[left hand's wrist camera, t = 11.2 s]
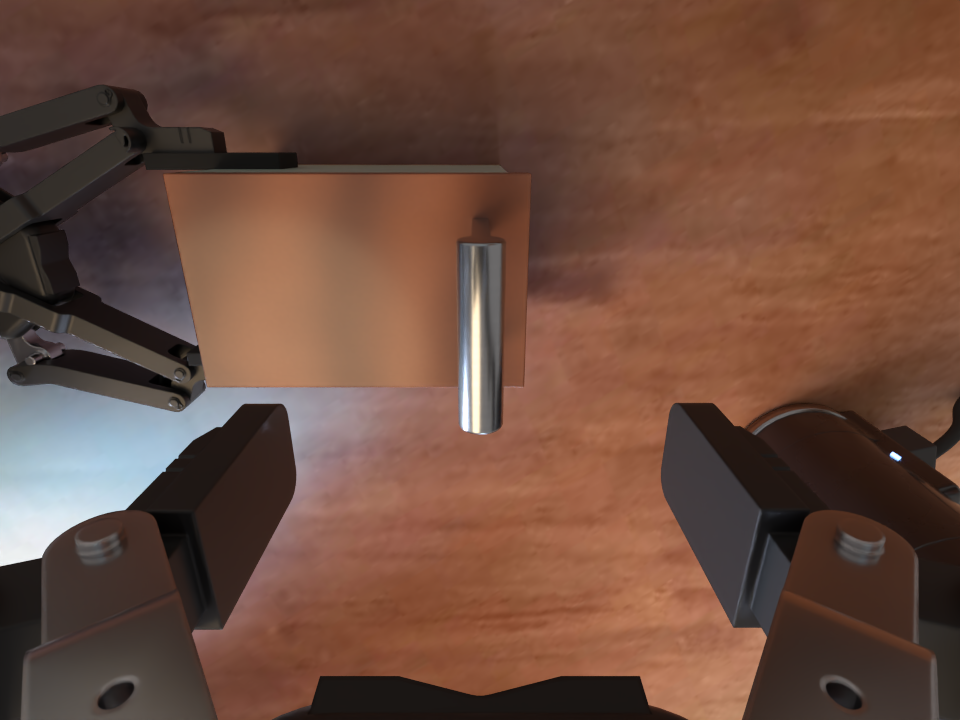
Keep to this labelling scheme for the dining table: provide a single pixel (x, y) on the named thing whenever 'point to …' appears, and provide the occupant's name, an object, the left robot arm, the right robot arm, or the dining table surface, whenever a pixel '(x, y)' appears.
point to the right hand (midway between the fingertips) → (301, 262)
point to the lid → (359, 280)
